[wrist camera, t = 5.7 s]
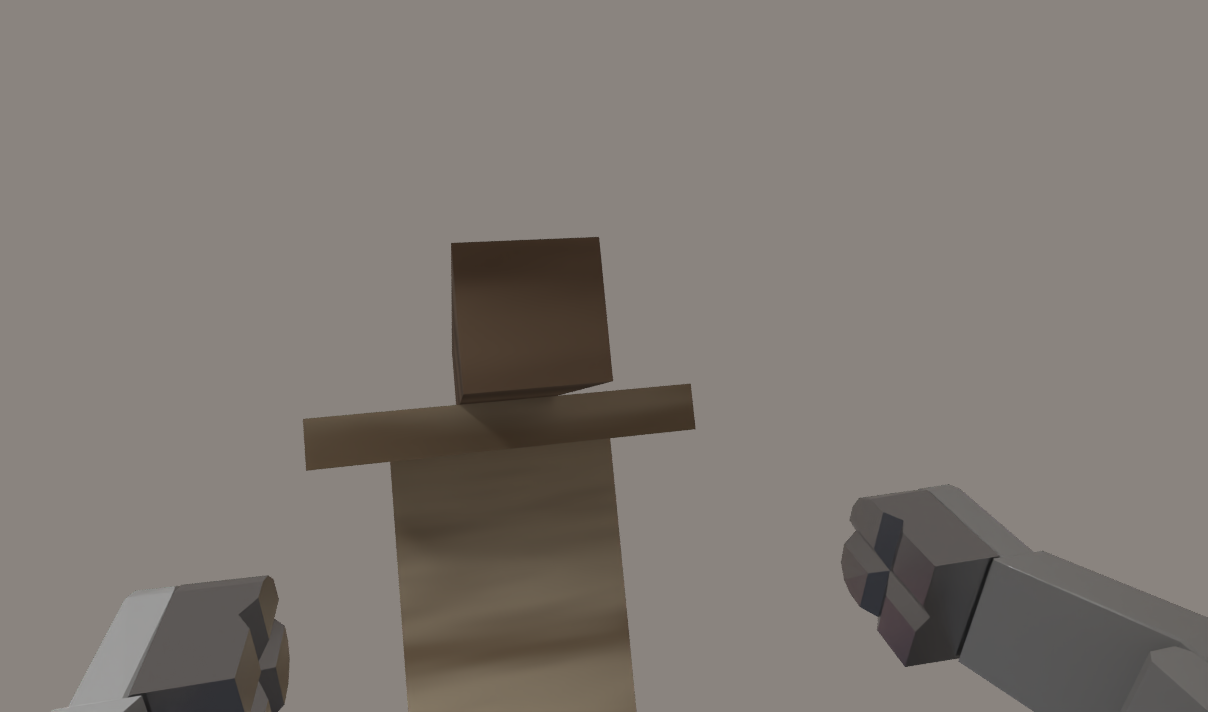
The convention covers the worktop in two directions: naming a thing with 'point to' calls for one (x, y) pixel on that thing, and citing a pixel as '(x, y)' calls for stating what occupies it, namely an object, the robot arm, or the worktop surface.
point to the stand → (508, 543)
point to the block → (528, 319)
